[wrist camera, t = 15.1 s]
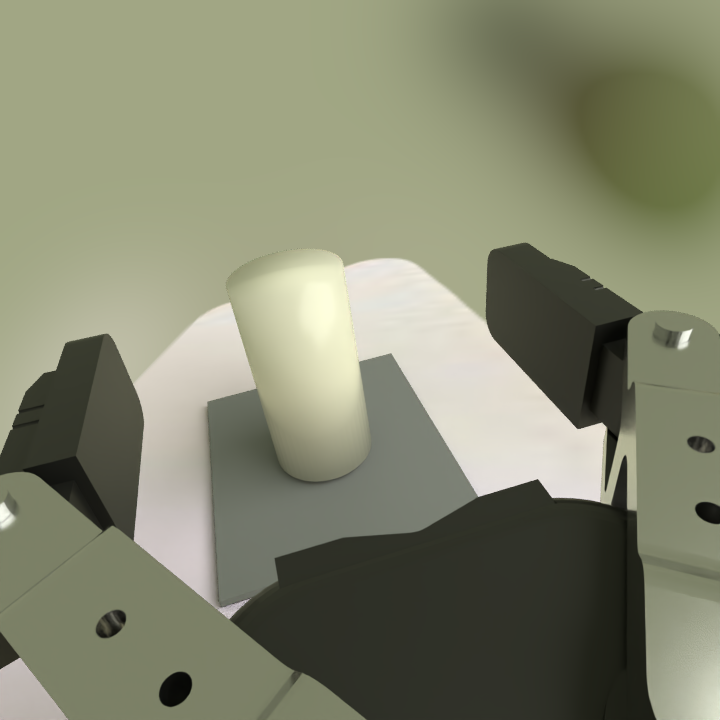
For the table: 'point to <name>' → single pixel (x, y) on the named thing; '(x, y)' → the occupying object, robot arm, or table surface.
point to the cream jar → (304, 360)
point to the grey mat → (324, 483)
